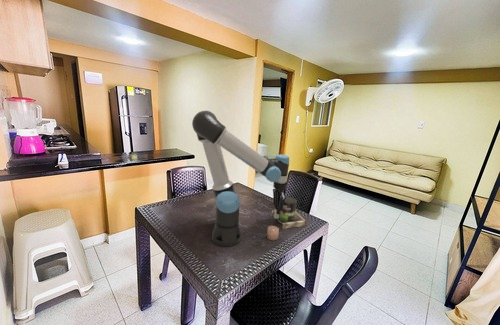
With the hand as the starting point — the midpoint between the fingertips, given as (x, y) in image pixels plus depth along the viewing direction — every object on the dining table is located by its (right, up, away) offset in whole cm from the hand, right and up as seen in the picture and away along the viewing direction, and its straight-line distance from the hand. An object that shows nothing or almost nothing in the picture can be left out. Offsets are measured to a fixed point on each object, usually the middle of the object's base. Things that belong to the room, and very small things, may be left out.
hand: (276, 217), depth 127 cm
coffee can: (+6, -3, +3) cm, 7 cm away
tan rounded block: (-4, -6, -15) cm, 17 cm away
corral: (+8, -2, +3) cm, 9 cm away
